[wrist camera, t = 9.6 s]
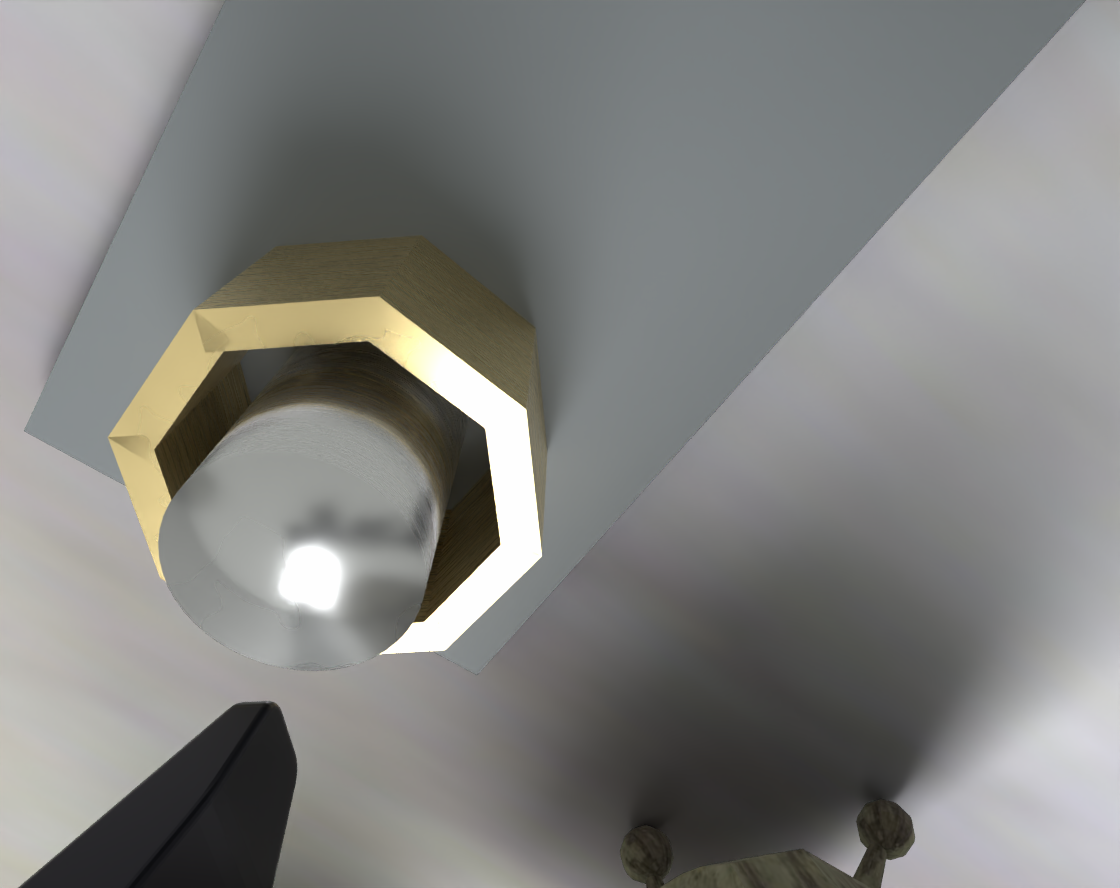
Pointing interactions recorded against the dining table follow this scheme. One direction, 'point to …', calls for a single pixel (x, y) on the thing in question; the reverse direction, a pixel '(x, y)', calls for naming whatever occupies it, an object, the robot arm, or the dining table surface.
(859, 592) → the dining table surface
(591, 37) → the fit board
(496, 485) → the brass ring
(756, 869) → the tabletop clock
